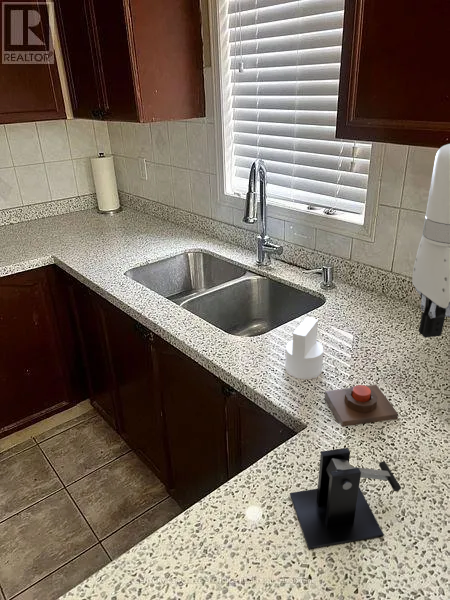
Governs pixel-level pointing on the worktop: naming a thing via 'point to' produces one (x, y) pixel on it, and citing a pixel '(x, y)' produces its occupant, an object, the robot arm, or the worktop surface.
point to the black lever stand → (335, 507)
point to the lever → (366, 472)
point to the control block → (359, 407)
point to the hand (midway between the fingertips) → (429, 334)
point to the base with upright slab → (304, 351)
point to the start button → (361, 393)
